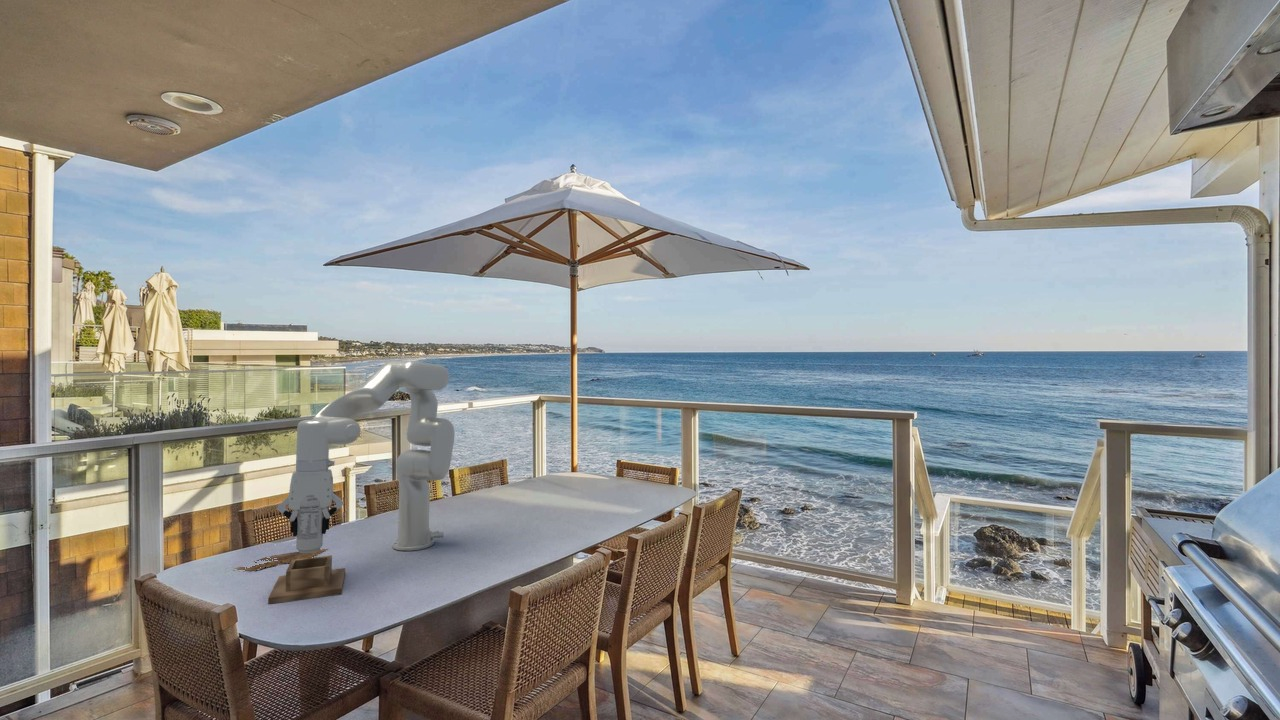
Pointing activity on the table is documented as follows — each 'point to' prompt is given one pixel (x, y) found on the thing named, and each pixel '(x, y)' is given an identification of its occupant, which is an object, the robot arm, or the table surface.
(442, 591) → the table surface
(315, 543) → the energy drink can
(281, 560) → the wooden fragment
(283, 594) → the slotted stand
